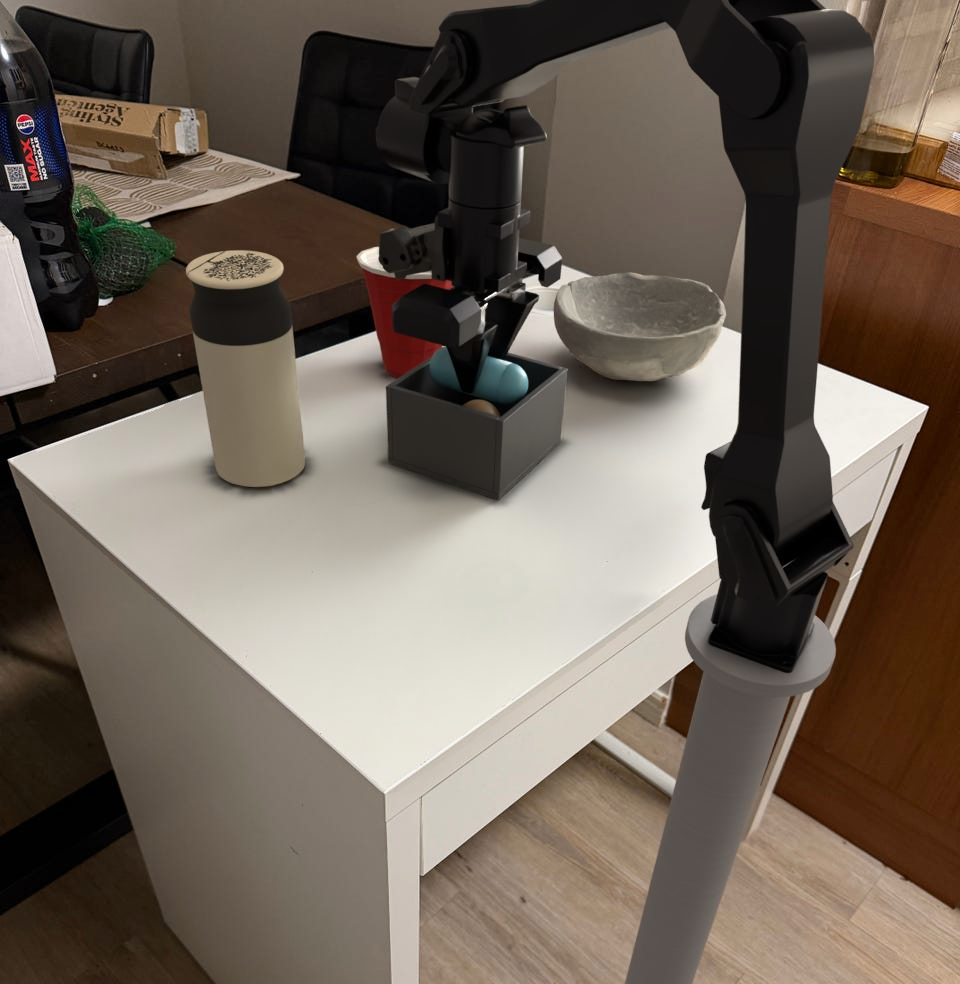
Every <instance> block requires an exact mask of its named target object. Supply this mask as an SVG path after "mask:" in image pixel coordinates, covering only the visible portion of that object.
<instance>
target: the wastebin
mask: <svg viewBox="0 0 960 984" xmlns="http://www.w3.org/2000/svg"><path fill="white" fill-rule="evenodd" d="M431 358H432V356H431V357H430V358H428V359H427V360H425V361H424V362H422V363H420V364H419V365H417V366H416V367H414V368H413V369H411V370H410V371H408V372H407V373H405V374H404V375H402V376H401V377H399V378H396V379H394V380H393V381H392V382H390V383H388V384H387V385H386V386H385V403H386V404H385V405H386V406H385V408H386V432H387V435H386V436H387V463H388V464H391V465H393V466H397V467H398V468H399V467H400V468H401V469H404V470H405V469H406V470H408V471H411V472H414V473H417V474H419V475H423V476H426V477H429V478H432V479H435V480H438V481H441V482H444V483H446V484H450V485H452V486H456V487H458V488H460V489H465V490H467V491H470V492H472V493H476V494H479V495H482V496H485V497H488V498H490V499H494V500H496V501H499V500H501V499H502V498H503V497H504V496H505V495H506V494H508V493H509V491H511V490H512V489H513V488H514V487H515V486H516V485H517V484H518V483H519V482H520V481H522V480H523V478H524V477H526V476H527V475H528V474H529V473H530V472H531V471H532V470H533V469H534V468H535V467H537V465H539V464H540V463H541V462H542V461H543V460H544V459H545V458H546V457H547V456H548V455H549V454H550V453H551V452H552V451H554V449H556V448H557V447H558V446H559V445H560V444H561V441H562V431H563V419H564V409H565V401H566V400H565V398H566V389H567V380H568V379H567V378H568V370H569V369H568V368H567V367H563V366H559V365H555V364H552V363H548V362H545V361H540V360H537V359H533V358H529V357H526V356H523V355H519V354H515V353H511V352H508V353H507V355H506V357H505V359H504V361H507V362H511V363H514V364H517V365H518V366H520V367H521V368H522V369H523V370H524V371H525V373H526V375H527V378H528V390H527V392H526V394H525V396H524V397H523V398H522V399H521V400H520V401H519V402H517V403H515V404H511V405H504V404H500V403H497V402H493V401H490V400H486V399H483V398H480V397H476V396H473V395H470V394H466V393H463V392H459V391H456V390H453V389H449V388H446V387H443V386H441V385H439V384H438V383H436V382H435V380H434V379H433V378H432V376H431V373H430V360H431ZM472 400H484V401H487V402H489V403H491V404H492V405H494V406H495V407H496V409H497V410H498V412H499V413H500V416H501V417H497V416H494V415H491V414H487V413H484V412H481V411H477V410H474V409H471V408H467V407H464V406H463V405H464V404H465V403H467V402H469V401H472Z"/></svg>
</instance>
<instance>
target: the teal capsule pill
mask: <svg viewBox="0 0 960 984" xmlns="http://www.w3.org/2000/svg"><path fill="white" fill-rule="evenodd" d="M430 373H431V376H432V378H433V379H434V380H435V382H436V383H438V384H439V385H441V386H443V387H446V388H449V389H453V390H456V391H459V392H463V391H462V390H461V388H460V385H459V382H458V379H457V376H456V373H455V370H454V367H453V364H452V361H451V358H450V356H449V353H448V350H447V348H446V346H442V348H440V349H439V350H437V351H436V352H435V353H434V354H433V356H432V358H431V360H430ZM527 390H528V378H527V375H526V373H525V371H524V370H523V369H522V368H521V367H520V366H518V365H517V364H514V363H511V362H507V361H504V360H500V359H496V358H493V357H489V356H487V357H486V360H485V363H484V366H483V369H482V372H481V375H480V378H479V380H478V383H477V385H476V388H475V390H474V392H473V393H471V394H470V393H466V392H463V393H466V394H470V395H473V396H476V397H480V398H483V399H486V400H490V401H493V402H497V403H500V404H504V405H511V404H515V403H517V402H519V401H520V400H521V399H522V398H523V397H524V396H525V394H526V392H527Z"/></svg>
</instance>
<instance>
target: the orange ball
mask: <svg viewBox="0 0 960 984" xmlns="http://www.w3.org/2000/svg"><path fill="white" fill-rule="evenodd" d="M463 406H464V407H467V408H471V409H474V410H477V411H481V412H484V413H487V414H491V415H494V416H497V417H501V416H500V413H499V412H498V410H497V409H496V407H495V406H494V405H492V404H491V403H489V402H487V401H484V400H472V401H469V402H467V403H465V404H464V405H463Z"/></svg>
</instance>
